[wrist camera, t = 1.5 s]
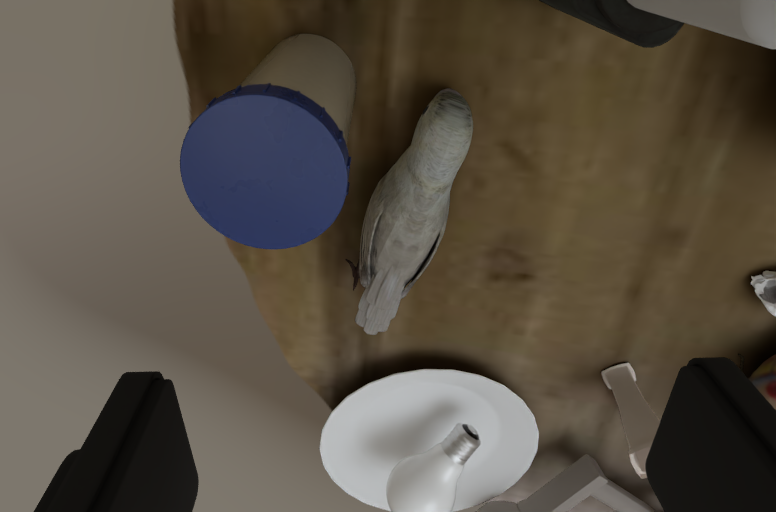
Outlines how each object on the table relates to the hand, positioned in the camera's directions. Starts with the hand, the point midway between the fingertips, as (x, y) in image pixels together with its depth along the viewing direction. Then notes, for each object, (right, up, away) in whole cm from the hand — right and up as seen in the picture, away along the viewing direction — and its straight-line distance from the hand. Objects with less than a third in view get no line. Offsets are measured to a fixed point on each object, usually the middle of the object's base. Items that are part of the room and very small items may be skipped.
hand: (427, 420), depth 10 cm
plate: (+3, -14, +43) cm, 46 cm away
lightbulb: (+7, -12, +37) cm, 40 cm away
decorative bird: (+1, +8, +30) cm, 31 cm away
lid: (-6, +6, +12) cm, 15 cm away
